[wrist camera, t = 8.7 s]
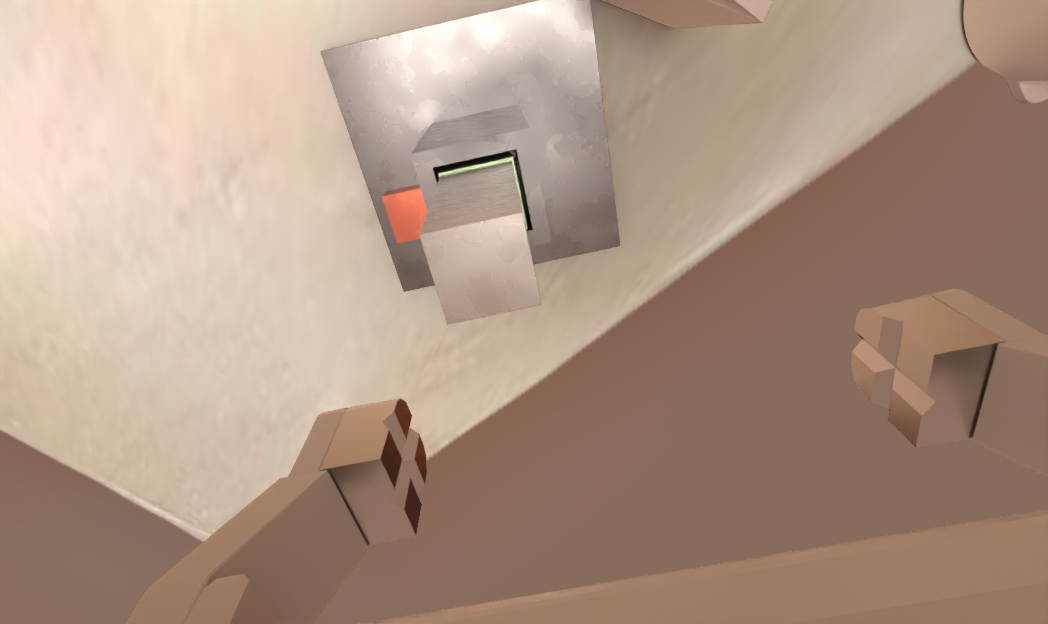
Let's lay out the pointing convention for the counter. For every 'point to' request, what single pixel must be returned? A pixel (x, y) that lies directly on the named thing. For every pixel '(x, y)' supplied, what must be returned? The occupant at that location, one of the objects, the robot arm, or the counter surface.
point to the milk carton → (697, 11)
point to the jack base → (483, 123)
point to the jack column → (479, 240)
